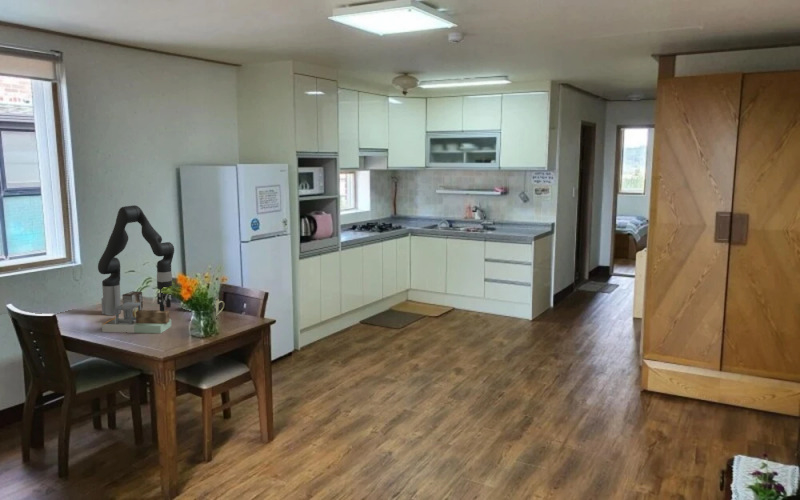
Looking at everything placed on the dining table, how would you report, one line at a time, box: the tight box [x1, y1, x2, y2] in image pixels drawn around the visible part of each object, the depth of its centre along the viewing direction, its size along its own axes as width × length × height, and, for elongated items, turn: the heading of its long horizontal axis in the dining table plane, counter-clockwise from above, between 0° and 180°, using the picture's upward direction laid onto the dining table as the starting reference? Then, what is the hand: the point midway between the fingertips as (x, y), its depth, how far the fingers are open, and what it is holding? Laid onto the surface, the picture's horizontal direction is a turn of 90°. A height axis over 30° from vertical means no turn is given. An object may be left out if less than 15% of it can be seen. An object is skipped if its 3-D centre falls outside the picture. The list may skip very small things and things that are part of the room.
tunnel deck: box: [101, 302, 172, 334], centre depth 312 cm, size 31×14×13 cm, turn 90°
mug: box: [215, 297, 225, 317], centre depth 334 cm, size 11×10×12 cm
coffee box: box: [121, 291, 144, 318], centre depth 328 cm, size 9×6×16 cm
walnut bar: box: [136, 309, 170, 324], centre depth 312 cm, size 16×4×6 cm, turn 89°
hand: (165, 309), depth 312 cm, fingers open, 8 cm apart
